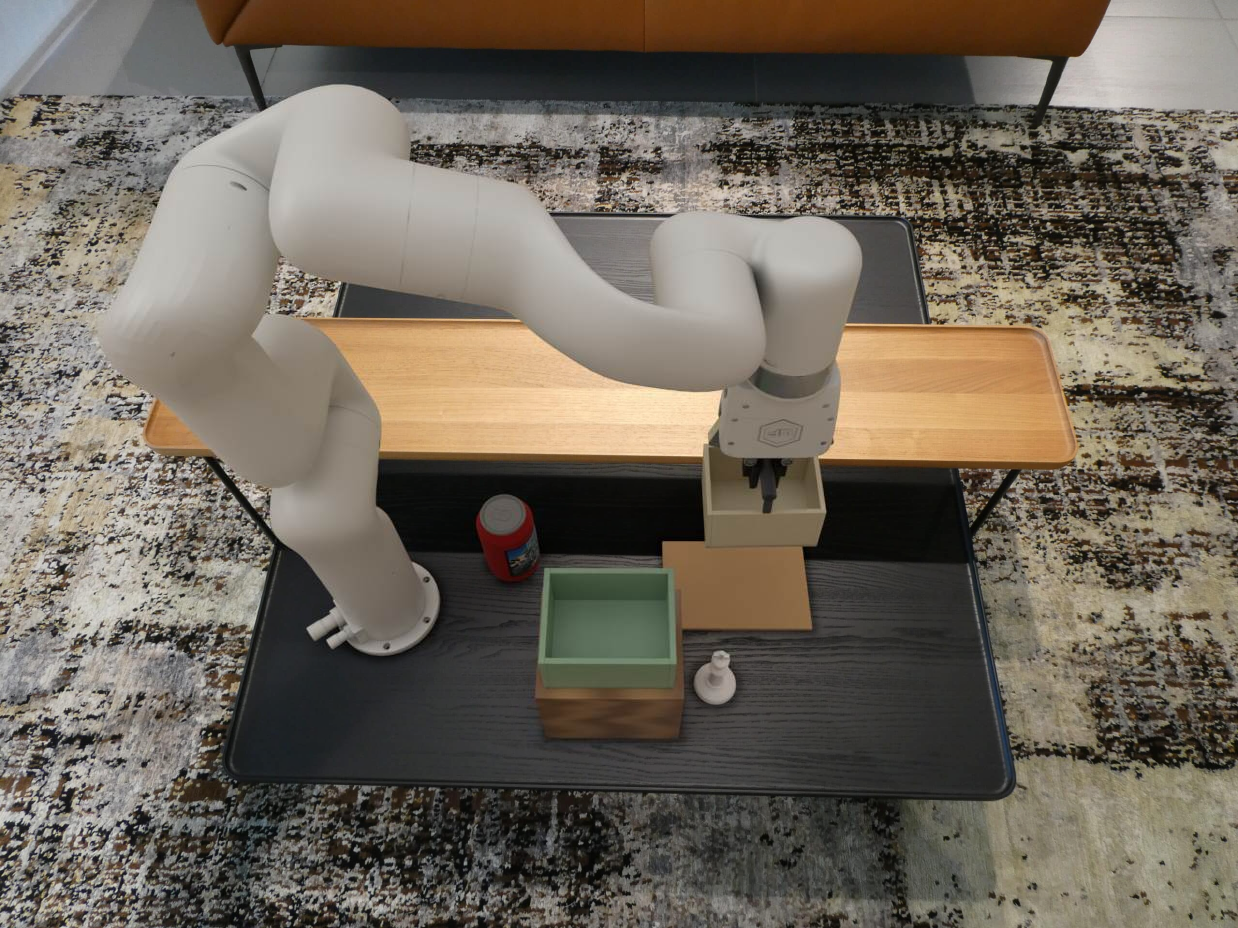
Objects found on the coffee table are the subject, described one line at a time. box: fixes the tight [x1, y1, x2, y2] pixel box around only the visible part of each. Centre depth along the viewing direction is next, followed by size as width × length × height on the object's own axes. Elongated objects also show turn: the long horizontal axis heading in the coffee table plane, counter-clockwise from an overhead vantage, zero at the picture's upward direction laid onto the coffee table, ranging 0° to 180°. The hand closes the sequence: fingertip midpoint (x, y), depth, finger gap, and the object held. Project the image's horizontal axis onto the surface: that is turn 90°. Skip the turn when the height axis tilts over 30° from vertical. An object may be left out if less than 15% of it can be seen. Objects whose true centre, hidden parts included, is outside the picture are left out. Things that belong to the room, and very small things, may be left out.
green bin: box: [538, 567, 677, 689], centre depth 84 cm, size 13×10×7 cm
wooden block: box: [534, 588, 685, 740], centre depth 93 cm, size 15×12×14 cm
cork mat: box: [661, 540, 813, 632], centre depth 106 cm, size 18×12×1 cm, turn 89°
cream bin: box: [701, 443, 827, 548], centre depth 86 cm, size 12×9×11 cm
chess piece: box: [693, 650, 737, 705], centre depth 95 cm, size 5×5×10 cm
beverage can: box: [475, 494, 541, 582], centre depth 103 cm, size 7×7×12 cm
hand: (762, 476), depth 85 cm, fingers closed on cream bin, 1 cm apart
